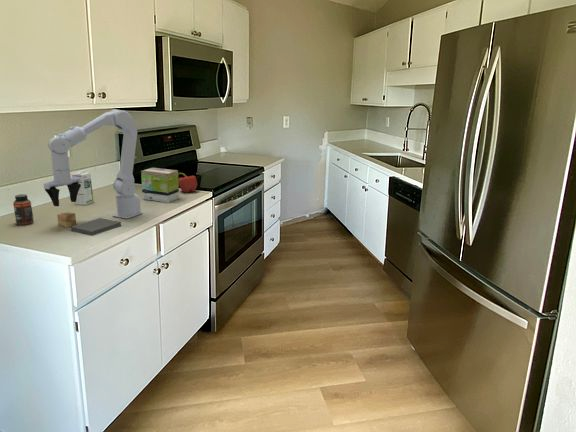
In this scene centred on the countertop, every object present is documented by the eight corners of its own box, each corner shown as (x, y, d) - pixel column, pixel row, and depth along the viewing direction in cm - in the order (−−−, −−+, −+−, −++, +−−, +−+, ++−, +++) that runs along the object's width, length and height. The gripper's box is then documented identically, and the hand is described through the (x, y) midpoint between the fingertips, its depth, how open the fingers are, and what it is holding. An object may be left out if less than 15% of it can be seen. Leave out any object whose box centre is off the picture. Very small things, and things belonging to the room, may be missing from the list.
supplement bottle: (37, 221, 170) (33, 193, 167) (28, 225, 164) (24, 197, 161) (21, 220, 170) (17, 193, 167) (12, 225, 164) (8, 196, 161)
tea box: (141, 199, 208) (140, 170, 204) (153, 195, 218) (152, 167, 214) (168, 203, 204) (167, 172, 200) (179, 198, 214) (178, 169, 209)
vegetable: (173, 192, 225) (172, 174, 223) (183, 188, 235) (183, 170, 232) (191, 194, 222) (190, 175, 219) (201, 190, 232) (200, 172, 229)
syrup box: (86, 205, 195) (82, 174, 191) (74, 204, 196) (71, 173, 192) (93, 202, 201) (90, 172, 197) (82, 201, 202) (79, 171, 198)
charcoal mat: (100, 221, 173) (100, 217, 172) (120, 225, 168) (120, 222, 168) (71, 230, 161) (70, 226, 160) (92, 235, 156) (91, 231, 156)
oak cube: (68, 222, 170) (67, 211, 169) (76, 224, 169) (75, 213, 167) (58, 225, 166) (57, 214, 165) (66, 227, 165) (65, 216, 163)
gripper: (70, 165, 169) (73, 198, 173) (36, 170, 156) (40, 206, 160) (83, 167, 166) (86, 201, 170) (49, 172, 154) (53, 209, 157)
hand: (65, 203), depth 165 cm, fingers open, 7 cm apart
